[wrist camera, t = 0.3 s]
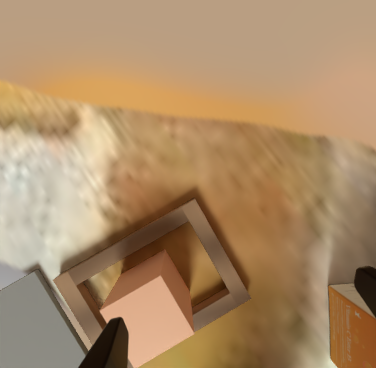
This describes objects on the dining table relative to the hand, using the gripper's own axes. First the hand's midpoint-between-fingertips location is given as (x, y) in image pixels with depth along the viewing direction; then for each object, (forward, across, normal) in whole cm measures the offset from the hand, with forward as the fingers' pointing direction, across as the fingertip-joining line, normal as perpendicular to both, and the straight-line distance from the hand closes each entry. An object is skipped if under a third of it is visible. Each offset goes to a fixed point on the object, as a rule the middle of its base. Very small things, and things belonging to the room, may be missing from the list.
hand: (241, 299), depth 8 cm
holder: (+11, +6, +9) cm, 15 cm away
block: (+11, +6, +9) cm, 15 cm away
